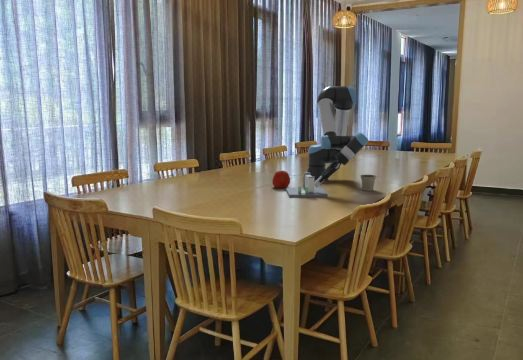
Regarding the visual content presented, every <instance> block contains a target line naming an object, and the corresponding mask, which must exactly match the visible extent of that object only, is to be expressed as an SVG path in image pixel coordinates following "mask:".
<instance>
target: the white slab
mask: <svg viewBox="0 0 523 360" xmlns="http://www.w3.org/2000/svg"><path fill="white" fill-rule="evenodd" d="M310 174H311V173H310V172H307V171H305V172H303V185H302V186H303V187H302V188H305V187H306V186H307V187H308V192H314V187H315V185H314V182H315V180H314V178H315V177H314V176H311V175H310Z"/></svg>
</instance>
